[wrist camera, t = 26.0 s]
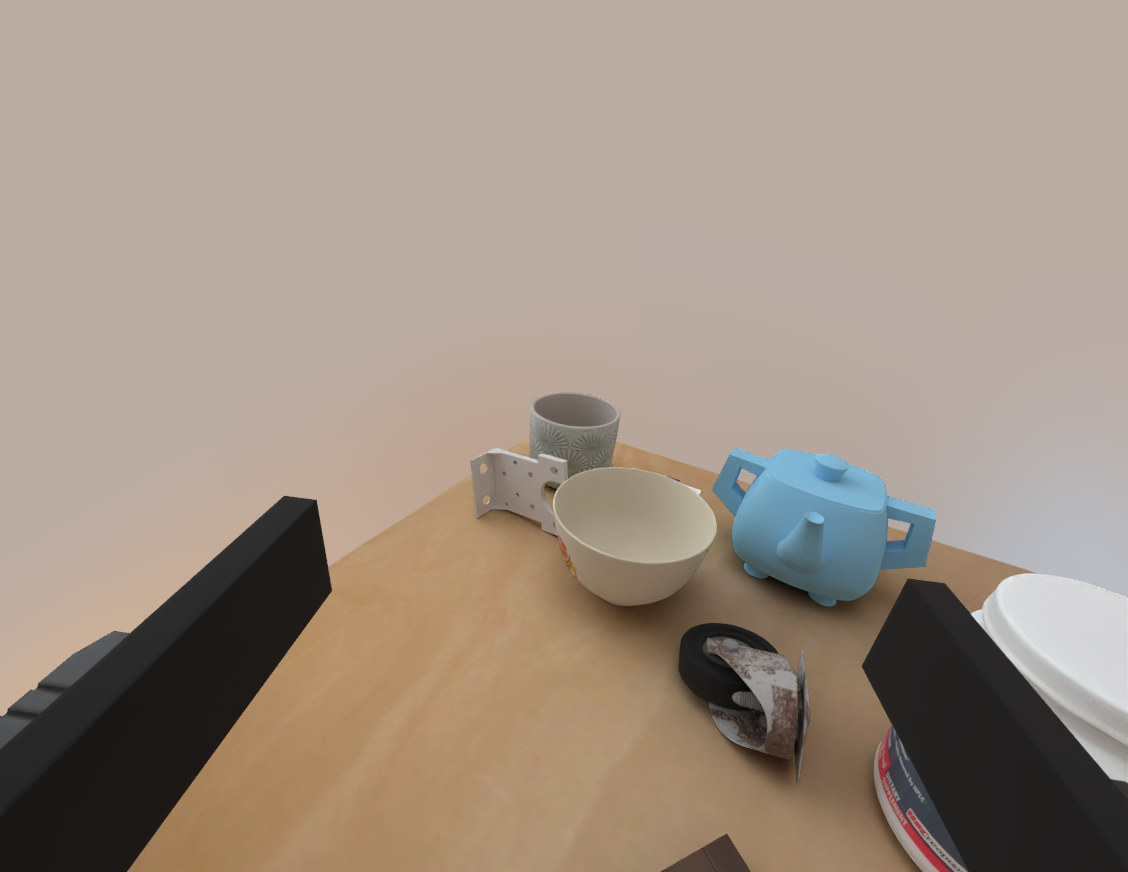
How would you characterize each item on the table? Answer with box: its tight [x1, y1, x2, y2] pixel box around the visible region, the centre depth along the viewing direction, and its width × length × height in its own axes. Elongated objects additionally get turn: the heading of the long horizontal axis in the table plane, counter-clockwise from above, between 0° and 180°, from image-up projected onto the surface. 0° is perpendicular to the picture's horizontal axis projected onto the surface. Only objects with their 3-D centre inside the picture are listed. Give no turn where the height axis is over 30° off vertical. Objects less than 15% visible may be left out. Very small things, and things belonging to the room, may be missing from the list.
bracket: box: [470, 448, 568, 536], centre depth 58 cm, size 11×4×10 cm, turn 54°
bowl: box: [553, 467, 717, 606], centre depth 50 cm, size 16×16×10 cm
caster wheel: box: [679, 623, 810, 786], centre depth 40 cm, size 7×11×10 cm
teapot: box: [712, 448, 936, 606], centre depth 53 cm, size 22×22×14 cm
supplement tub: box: [874, 574, 1128, 872], centre depth 29 cm, size 13×13×18 cm
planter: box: [530, 392, 620, 489], centre depth 69 cm, size 12×12×11 cm
